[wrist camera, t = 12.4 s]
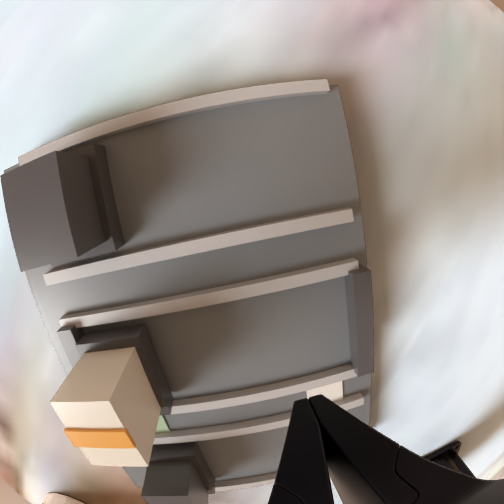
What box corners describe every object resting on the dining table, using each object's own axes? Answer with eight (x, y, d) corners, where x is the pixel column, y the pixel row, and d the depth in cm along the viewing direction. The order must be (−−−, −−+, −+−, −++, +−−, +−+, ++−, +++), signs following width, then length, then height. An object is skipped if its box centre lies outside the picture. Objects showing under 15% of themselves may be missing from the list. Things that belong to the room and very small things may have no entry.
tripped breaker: (145, 323, 12) (110, 393, 7) (173, 398, 13) (159, 475, 8) (85, 332, 12) (36, 394, 7) (117, 402, 13) (89, 473, 8)
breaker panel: (325, 91, 12) (375, 50, 7) (359, 437, 17) (387, 491, 12) (20, 167, 12) (-49, 168, 7) (142, 473, 16) (130, 529, 11)
